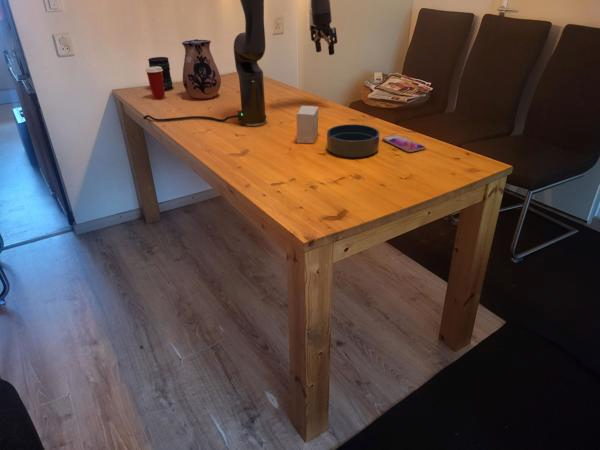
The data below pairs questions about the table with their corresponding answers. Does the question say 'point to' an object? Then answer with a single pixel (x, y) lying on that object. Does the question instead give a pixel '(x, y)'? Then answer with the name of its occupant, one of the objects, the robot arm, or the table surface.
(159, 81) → the paper cup
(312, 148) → the table surface
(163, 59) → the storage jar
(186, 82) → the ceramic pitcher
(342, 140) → the bowl
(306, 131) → the cosmetics box
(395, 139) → the smartphone
